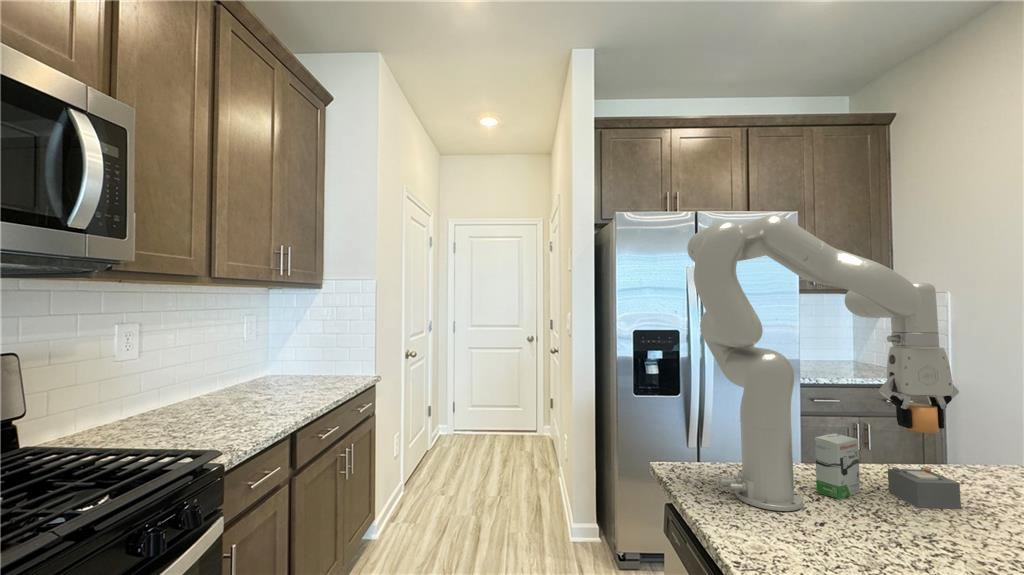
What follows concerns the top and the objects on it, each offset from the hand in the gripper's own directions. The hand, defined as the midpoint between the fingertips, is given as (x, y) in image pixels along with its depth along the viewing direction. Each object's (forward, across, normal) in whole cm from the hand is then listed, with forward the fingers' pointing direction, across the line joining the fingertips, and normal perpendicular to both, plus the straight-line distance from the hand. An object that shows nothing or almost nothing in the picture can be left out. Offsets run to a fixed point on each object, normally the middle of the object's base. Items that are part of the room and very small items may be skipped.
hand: (920, 426), depth 96 cm
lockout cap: (+1, 0, 0) cm, 1 cm away
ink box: (+15, -15, +3) cm, 22 cm away
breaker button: (+14, 0, 0) cm, 14 cm away
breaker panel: (+15, 0, 0) cm, 15 cm away
